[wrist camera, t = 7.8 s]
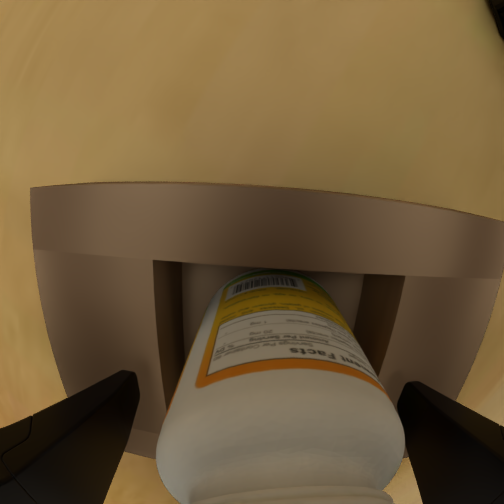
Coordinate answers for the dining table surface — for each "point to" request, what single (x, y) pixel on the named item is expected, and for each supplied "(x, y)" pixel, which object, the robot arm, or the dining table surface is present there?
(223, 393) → the supplement bottle
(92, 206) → the walnut holder
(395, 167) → the dining table surface
